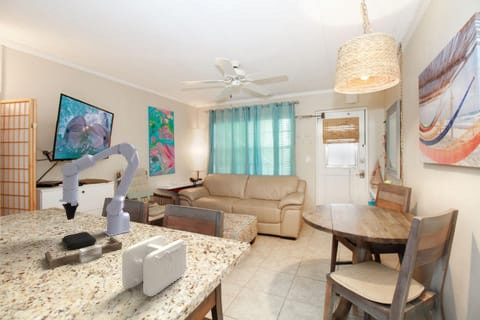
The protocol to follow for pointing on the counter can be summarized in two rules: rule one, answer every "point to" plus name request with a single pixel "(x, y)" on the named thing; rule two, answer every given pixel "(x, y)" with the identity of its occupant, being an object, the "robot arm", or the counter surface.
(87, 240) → the black rounded slab
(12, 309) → the counter surface
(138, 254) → the cable organizer
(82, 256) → the charging dock
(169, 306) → the counter surface
